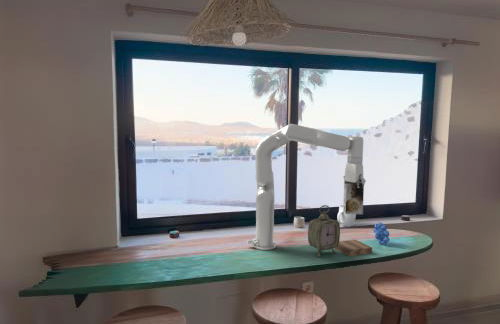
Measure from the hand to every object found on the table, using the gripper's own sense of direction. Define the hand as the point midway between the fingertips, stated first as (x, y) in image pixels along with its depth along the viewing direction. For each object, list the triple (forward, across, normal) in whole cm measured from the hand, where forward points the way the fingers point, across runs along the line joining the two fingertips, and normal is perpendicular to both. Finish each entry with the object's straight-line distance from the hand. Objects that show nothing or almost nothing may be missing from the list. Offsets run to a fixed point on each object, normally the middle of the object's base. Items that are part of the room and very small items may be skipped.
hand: (353, 193), depth 177 cm
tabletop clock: (+30, 0, -18) cm, 35 cm away
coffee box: (+10, 0, 0) cm, 10 cm away
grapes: (+30, -3, +21) cm, 37 cm away
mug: (+30, -42, +27) cm, 58 cm away
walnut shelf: (+30, +1, 0) cm, 30 cm away
